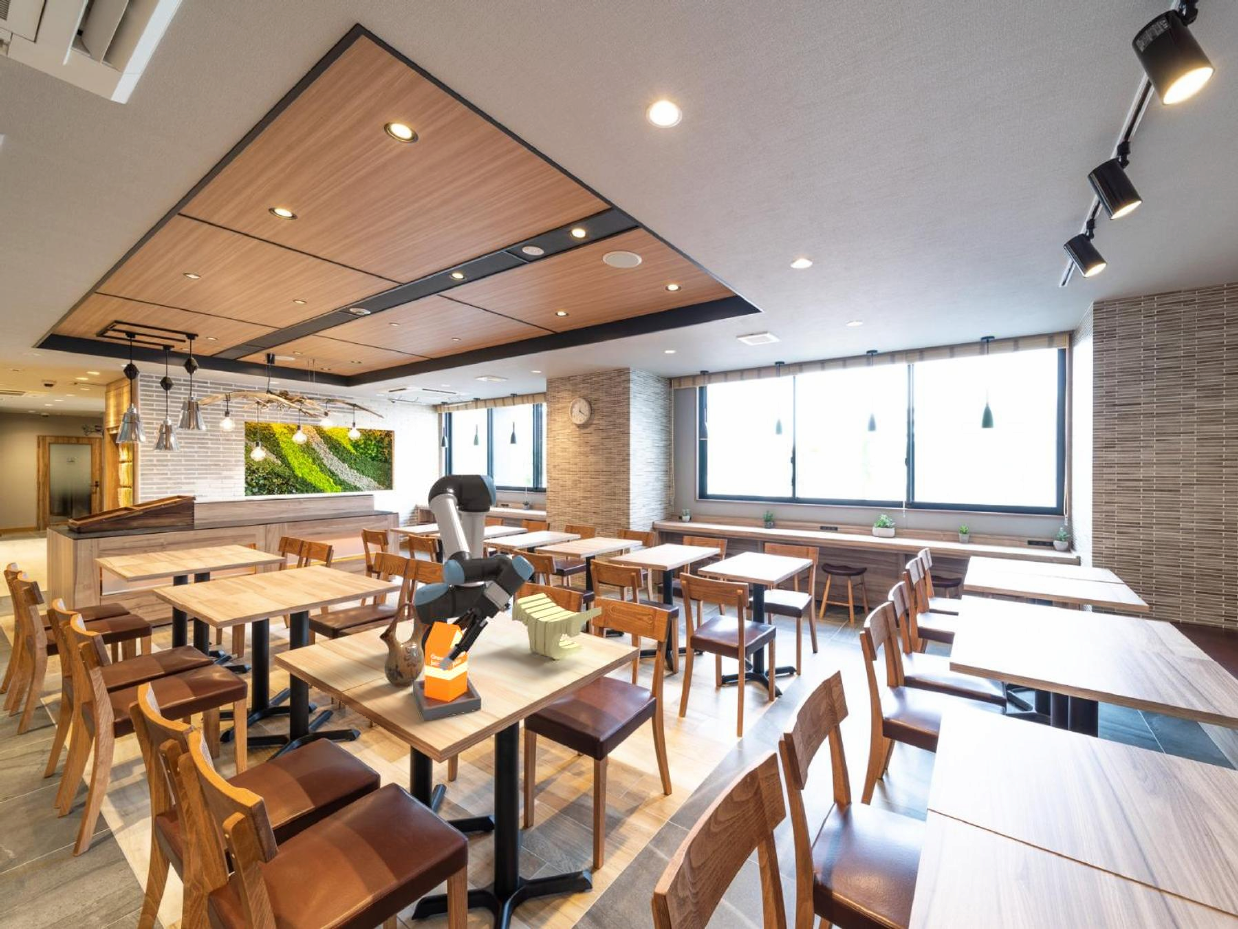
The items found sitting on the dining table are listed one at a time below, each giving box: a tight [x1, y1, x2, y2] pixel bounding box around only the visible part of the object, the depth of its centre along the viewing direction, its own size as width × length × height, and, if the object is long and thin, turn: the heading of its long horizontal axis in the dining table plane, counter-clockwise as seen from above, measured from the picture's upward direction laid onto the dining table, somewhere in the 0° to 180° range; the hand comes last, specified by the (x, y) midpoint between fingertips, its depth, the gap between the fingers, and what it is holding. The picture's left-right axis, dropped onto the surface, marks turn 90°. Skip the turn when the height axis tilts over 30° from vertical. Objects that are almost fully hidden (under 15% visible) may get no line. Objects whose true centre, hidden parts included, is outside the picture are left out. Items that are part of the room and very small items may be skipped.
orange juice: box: [424, 622, 468, 701], centre depth 146 cm, size 8×9×20 cm
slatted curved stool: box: [511, 592, 603, 661], centre depth 186 cm, size 30×16×18 cm, turn 53°
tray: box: [412, 676, 482, 722], centre depth 145 cm, size 20×15×3 cm
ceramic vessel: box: [379, 602, 430, 688], centre depth 156 cm, size 16×9×25 cm, turn 146°
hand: (436, 661), depth 144 cm, fingers closed on orange juice, 11 cm apart
